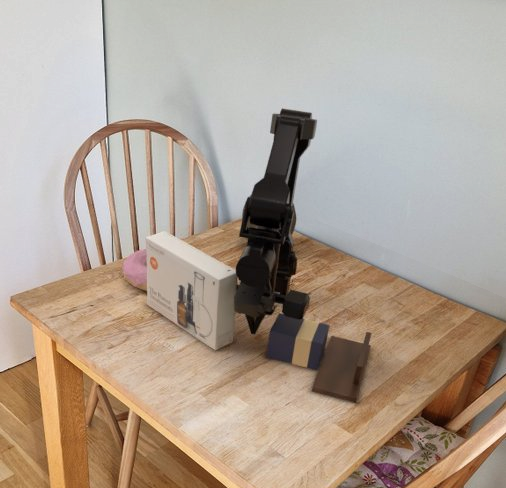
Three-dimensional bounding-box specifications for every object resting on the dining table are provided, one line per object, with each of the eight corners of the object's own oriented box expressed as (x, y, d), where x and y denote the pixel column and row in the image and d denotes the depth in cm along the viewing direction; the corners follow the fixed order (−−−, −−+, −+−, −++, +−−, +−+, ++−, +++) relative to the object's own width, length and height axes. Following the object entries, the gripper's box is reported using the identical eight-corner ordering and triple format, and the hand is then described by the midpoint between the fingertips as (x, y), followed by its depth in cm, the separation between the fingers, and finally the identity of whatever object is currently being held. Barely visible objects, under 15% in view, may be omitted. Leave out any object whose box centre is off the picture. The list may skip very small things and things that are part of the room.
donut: (110, 288, 132) (110, 267, 130) (137, 259, 145) (137, 239, 142) (179, 302, 130) (180, 281, 127) (200, 271, 143) (201, 252, 140)
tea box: (265, 357, 116) (269, 330, 113) (275, 338, 122) (279, 312, 119) (317, 370, 114) (322, 343, 111) (324, 350, 120) (329, 324, 117)
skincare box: (144, 306, 127) (144, 235, 119) (164, 298, 131) (166, 229, 123) (213, 352, 116) (219, 278, 107) (234, 342, 119) (241, 269, 111)
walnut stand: (311, 391, 109) (315, 368, 106) (330, 339, 124) (334, 318, 121) (355, 403, 107) (361, 380, 105) (369, 349, 122) (374, 328, 119)
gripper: (197, 267, 106) (192, 342, 114) (301, 292, 102) (289, 368, 110) (219, 243, 115) (213, 314, 123) (316, 265, 111) (303, 337, 119)
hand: (253, 333), depth 119 cm, fingers closed
